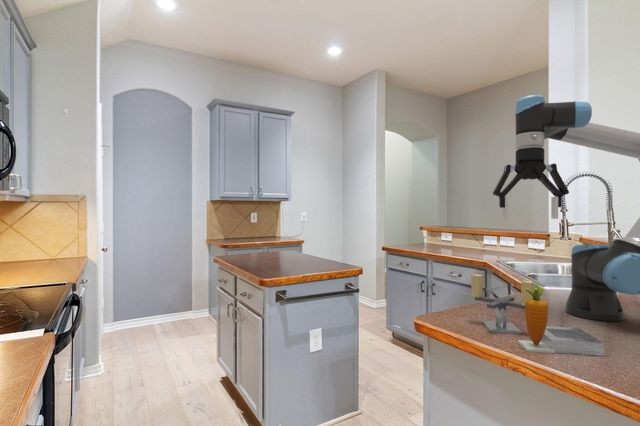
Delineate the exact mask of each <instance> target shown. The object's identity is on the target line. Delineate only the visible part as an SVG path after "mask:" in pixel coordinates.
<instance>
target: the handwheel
mask: <svg viewBox="0 0 640 426" xmlns="http://www.w3.org/2000/svg"><path fill="white" fill-rule="evenodd" d="M470 279H471V281H470V282H471V283H470V285H471V287H470V289H471V290H470V291H471V292H470V294H471V295H470V297H474V300H475V301H477V302H478V301H480V302H484V303H487V304H486V309H487V308H488V309H492V310H494V309H495V310H496V308H497V307H500V306H507V307H511V308H515V309H522V310H525V303H526V301H527V300H528V299H533V297H532V295H531V294H530V293H529V292H528V291H526V290H525V289H526V288H528V289H530V290H531V291H532V292H533V291H534V288H535V282H534V281H530V280H529V281H528V280H522V281H521V284H520V286H521V287H520V289H521V290H520V291H521V292H520V296H521V297H520V299H521V300H520V302H516V301H515V297H514V296H510V295H507V296H504V297H486V296H483V295H484V285H483V284H484V281H483V280H484V275H483V274H476V273H475V274H471V278H470Z"/></svg>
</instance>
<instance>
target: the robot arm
mask: <svg viewBox="0 0 640 426" xmlns="http://www.w3.org/2000/svg"><path fill="white" fill-rule="evenodd" d="M592 114H593V109H592V106H591V104H590V103H589V102H588V101H576V100H574V101H566V102H565V101H564V102H562V101H561V102H546V100H545V97H544V96H543V95H540V94H531V95H525V96H523V97H521V98H519V99H518V100H516V102H515V113H514V117H515V149H516V151H515V165H511V164H507V165H504V167H503V173H502V175H500V176H501V177H500V178H499V180H498V183H497V184H496V186H495V188H494V190H493V192H492V195H493V196H496V197H498V199H499V201H498V202H499V203H498V205H499V208H502V219H507V220H508V219H509V197H508V196H507V195H508V194H509V192H510V191H512V190H513V188H514V187H515V186H516V185H517V184H518V183H519V182H520V181H521V179H522V181H523V180H536V179H537V180H538V181H539V182H540V183H541V184H542V185H543V186H544V187H545V188H546V189H547V190H548V191H549V192H550V193H551V194H552V195H553V196H551V197H550V199H551V202H550V203H551V210H550V212H551V216H550V217H551V219H553V220H558V219H559V208H562V205H563V204H562V197H563V196H565V195H568V194H570V190H569V189H568V187H567V186H566V184H565V182H564V180H563V178H562V177H561V175H560V172H559V171H558V168H557V167H558V166H557V164H556V163H550V164H545V148H544V146H545V140H547V139H550V140H555V141H560V142H565V143H569V144H572V145H577V146H582V147H586V148H590V149H594V150H600V151H604V152H608V153H613V154H617V155H620V156H624V157H629V158H634V159H638V161H639V162H640V132H636V131H632V130H626V129H622V128H618V127H612V126H608V125H603V124H598V123H593V122H590V121H591V120H592V116H593V115H592ZM513 170H514V173H516V175H515V176H514V177H513V178H512V179H511V180H510V182H509V183H507V185H506V186H505V184H506V182H507V180H508V178H509V175H510V173H512V172H513ZM545 170H546V171H547V172H548V173H549V175H550V177H551V179H552V180H553V182H554V183H553V182H552V181H551V180H550V179H549V178H548V177H547V175H546V174H545ZM504 186H505V187H504ZM503 187H504V189H503ZM502 189H503V190H502ZM570 257H571V290H570V292H569V295H568V298H567V300H566V302H565V312H566V313H567V314H569V315H572V316H574V317H579V318H583V319H585V320H586V319H588V320H593V321H599V322H600V321H601V322H621V321H624V319H625V317H624V316H625V311H624V310H623V307H622V304H621V302H620V299H619V296H618V293H620V294H623V295H624V294H625V295H632V296H636V295H637V296H639V295H640V217H639V218H637V220H636V221H635V223H634V224H633V225H632V227H631V228H630V230H629V231H628V232H627V233H626V235H625V236H624V237H619V238H614V240H613V242H612V243H611V244H604V243H603V244H602V243H601V244H598V243H597V244H595V243H594V244H576V245H574V246H573V247H572V249H571V255H570Z"/></svg>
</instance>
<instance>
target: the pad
mask: <svg viewBox="0 0 640 426" xmlns="http://www.w3.org/2000/svg"><path fill="white" fill-rule="evenodd" d="M517 343H518V344H519V345H520V346H521V347H522V348H523V349H524V350H525V351H526V352H530V353H531V352H532V353H546V354H556V353H555V351H554V350H551V349H550V348H549V347H548V346H546V345H545V344H544V343H543V342H540V343H539V344H538V345H535V344H534V343H533V342H532V340H522V339H521V340H520V339H518V341H517Z"/></svg>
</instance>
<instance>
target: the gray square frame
mask: <svg viewBox="0 0 640 426" xmlns="http://www.w3.org/2000/svg"><path fill="white" fill-rule="evenodd" d="M540 342H543V343H544V344H545V345H546V346H548V347H549V348H550V349H551V350H554V351H555V353H554V354H569V355H570V354H571V355H582V356H583V355H585V356H597V357H598V356H599V357H605V355H604V354H605V345H604V342H603V341H601V340H599V339H598V338H596V337H594V336H593V335H591V334H589V333H588V332H586V331H585V330H582V329H581V328H579V327H566V326H564V327H563V326H548V325H546V329H545V333H544V335H543V337H542V339H541V341H540Z"/></svg>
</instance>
